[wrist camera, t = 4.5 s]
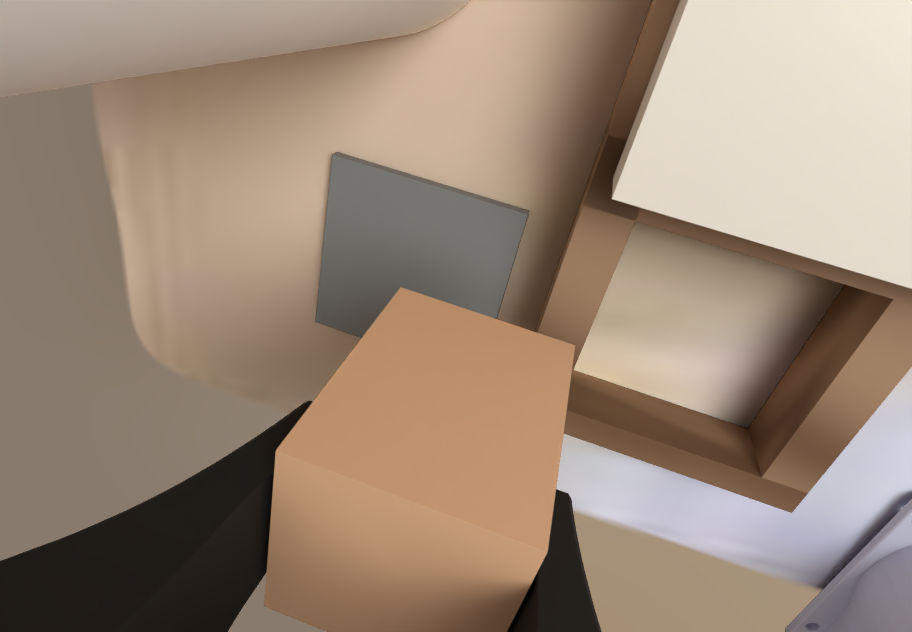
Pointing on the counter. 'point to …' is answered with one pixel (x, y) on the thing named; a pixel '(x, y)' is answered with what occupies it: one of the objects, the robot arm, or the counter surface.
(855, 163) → the cover
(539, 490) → the block
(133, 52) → the cup
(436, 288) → the pad
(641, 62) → the wooden grid frame
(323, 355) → the counter surface
